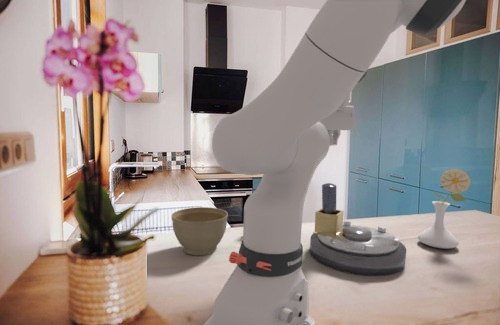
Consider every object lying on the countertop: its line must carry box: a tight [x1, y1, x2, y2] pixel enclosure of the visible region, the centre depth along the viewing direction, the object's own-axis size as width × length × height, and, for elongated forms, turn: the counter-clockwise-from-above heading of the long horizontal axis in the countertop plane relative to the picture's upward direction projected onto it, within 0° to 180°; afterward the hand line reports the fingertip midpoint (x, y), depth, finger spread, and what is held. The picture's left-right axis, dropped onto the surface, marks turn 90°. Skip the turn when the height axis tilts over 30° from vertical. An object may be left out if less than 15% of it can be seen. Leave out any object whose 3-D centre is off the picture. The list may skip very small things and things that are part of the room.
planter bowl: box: [171, 206, 229, 256], centre depth 97 cm, size 16×16×11 cm
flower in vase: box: [417, 168, 472, 250], centre depth 104 cm, size 13×11×25 cm
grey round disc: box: [314, 207, 400, 256], centre depth 95 cm, size 23×22×7 cm
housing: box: [309, 230, 407, 277], centre depth 96 cm, size 26×26×4 cm
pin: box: [321, 182, 337, 215], centre depth 98 cm, size 4×4×14 cm
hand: (332, 145), depth 101 cm, fingers closed
